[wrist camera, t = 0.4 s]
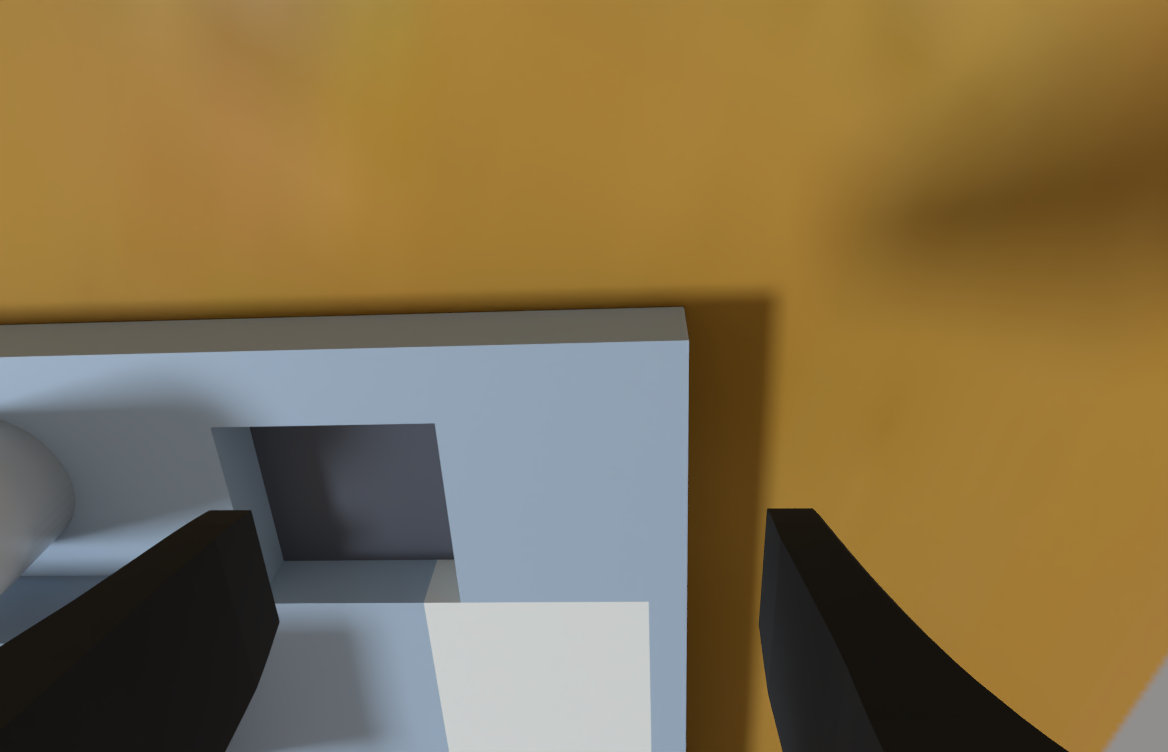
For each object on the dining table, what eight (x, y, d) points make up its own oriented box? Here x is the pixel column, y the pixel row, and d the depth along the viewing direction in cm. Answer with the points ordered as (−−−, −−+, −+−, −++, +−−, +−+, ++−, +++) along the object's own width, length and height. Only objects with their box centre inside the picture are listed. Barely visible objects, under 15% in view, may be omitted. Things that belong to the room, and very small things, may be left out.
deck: (681, 781, 28) (690, 919, 24) (-7, 776, 30) (-105, 904, 26) (684, 306, 21) (697, 392, 17) (-239, 331, 22) (-430, 415, 18)
